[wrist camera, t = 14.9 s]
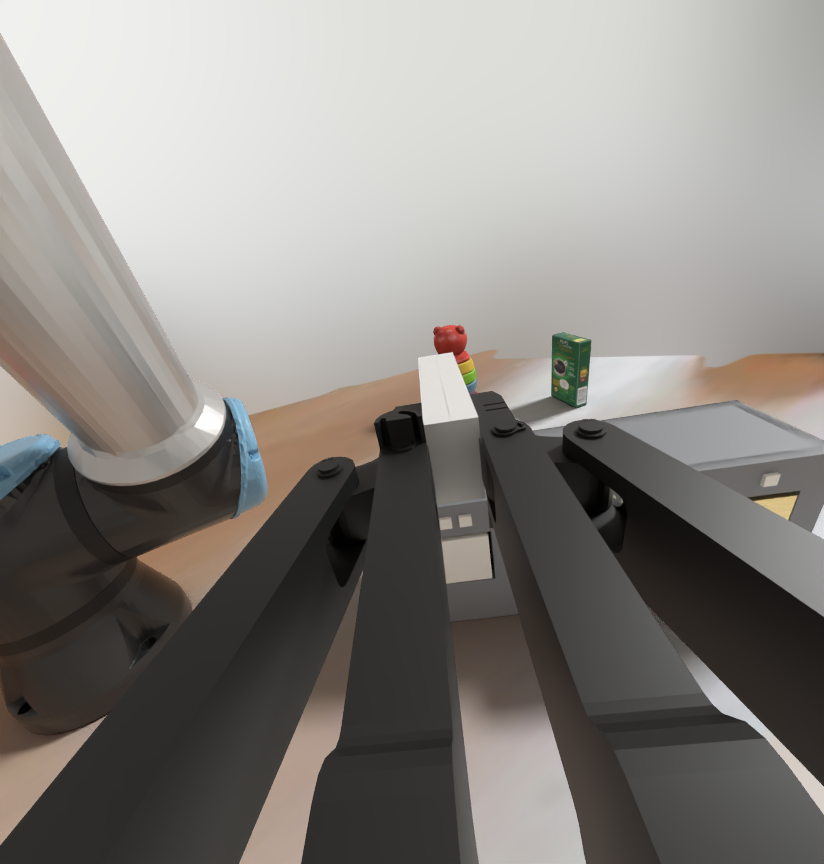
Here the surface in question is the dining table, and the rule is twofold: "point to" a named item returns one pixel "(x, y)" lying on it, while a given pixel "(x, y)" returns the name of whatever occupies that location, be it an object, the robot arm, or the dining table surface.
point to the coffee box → (570, 368)
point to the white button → (466, 557)
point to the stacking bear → (456, 352)
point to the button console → (692, 445)
